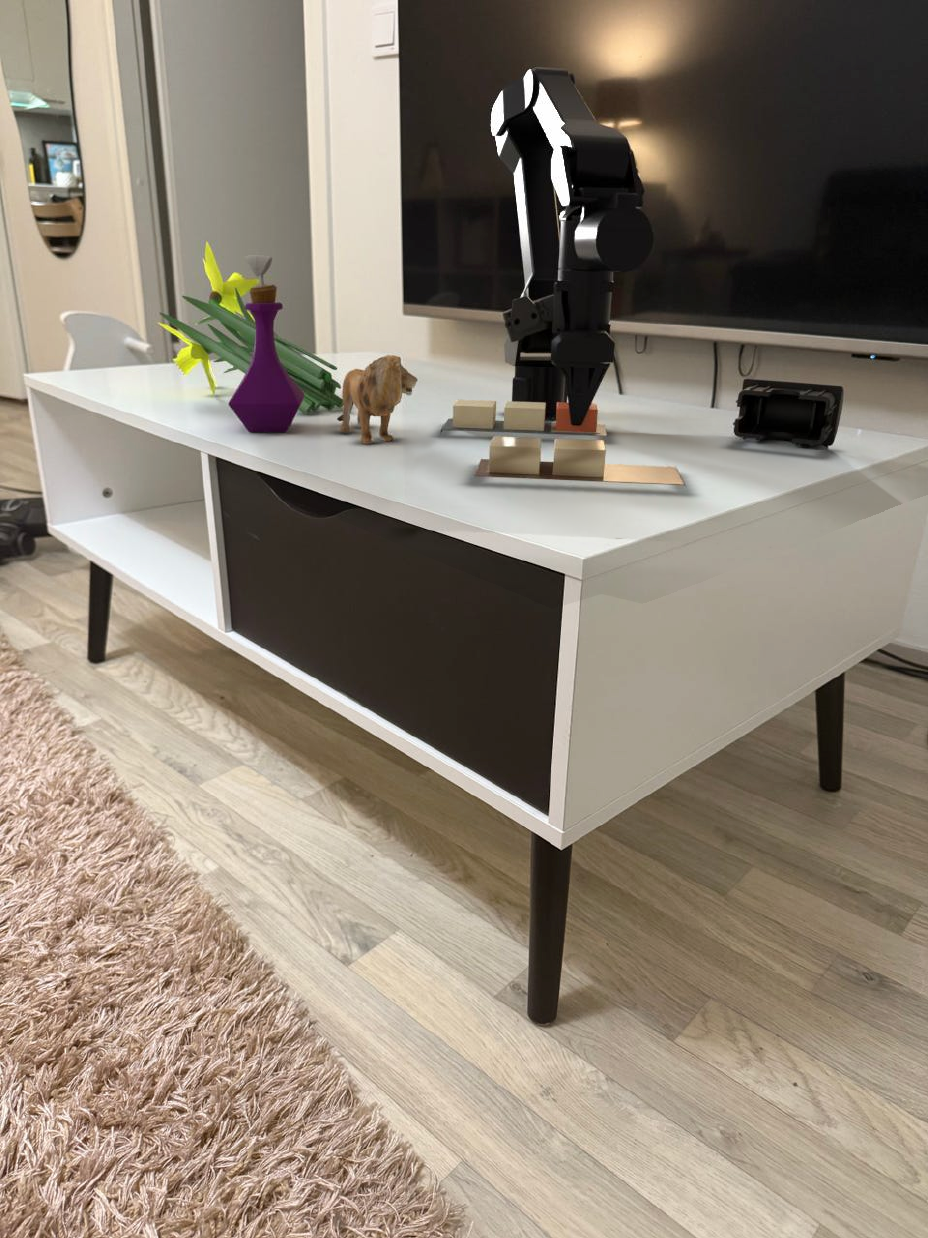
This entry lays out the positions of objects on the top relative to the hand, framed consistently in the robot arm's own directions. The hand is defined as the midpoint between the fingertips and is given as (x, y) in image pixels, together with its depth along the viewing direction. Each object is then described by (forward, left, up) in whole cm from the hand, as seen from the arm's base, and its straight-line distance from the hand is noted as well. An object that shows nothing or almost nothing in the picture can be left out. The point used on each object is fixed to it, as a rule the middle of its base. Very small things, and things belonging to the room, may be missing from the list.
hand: (575, 421), depth 100 cm
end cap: (-14, +17, -2) cm, 22 cm away
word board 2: (+15, +15, -2) cm, 21 cm away
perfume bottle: (+26, -22, -2) cm, 34 cm away
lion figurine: (+19, -12, -2) cm, 23 cm away
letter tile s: (0, 0, -1) cm, 1 cm away
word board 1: (+4, -4, -2) cm, 6 cm away
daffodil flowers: (+16, -43, -2) cm, 46 cm away
